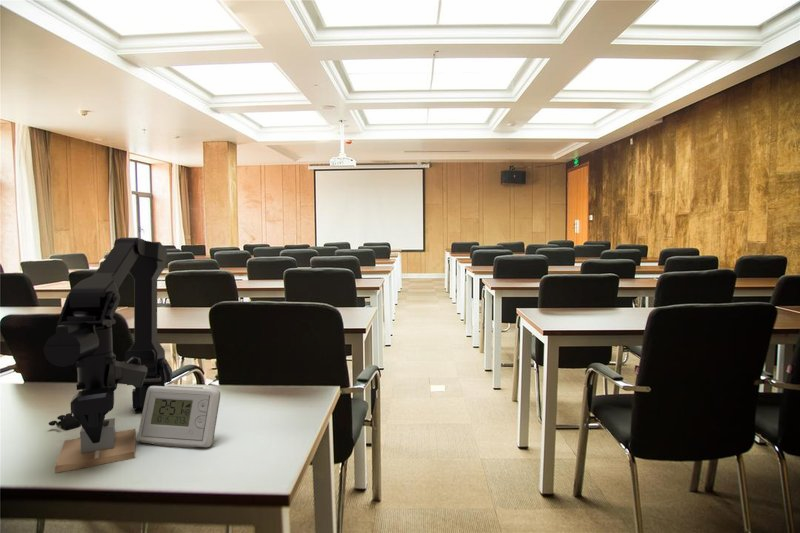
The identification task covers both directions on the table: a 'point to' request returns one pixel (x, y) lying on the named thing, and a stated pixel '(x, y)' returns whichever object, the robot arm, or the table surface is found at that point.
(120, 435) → the wooden base plate
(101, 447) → the square gray frame
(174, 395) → the digital clock
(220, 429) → the table surface
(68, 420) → the wireless earbuds
